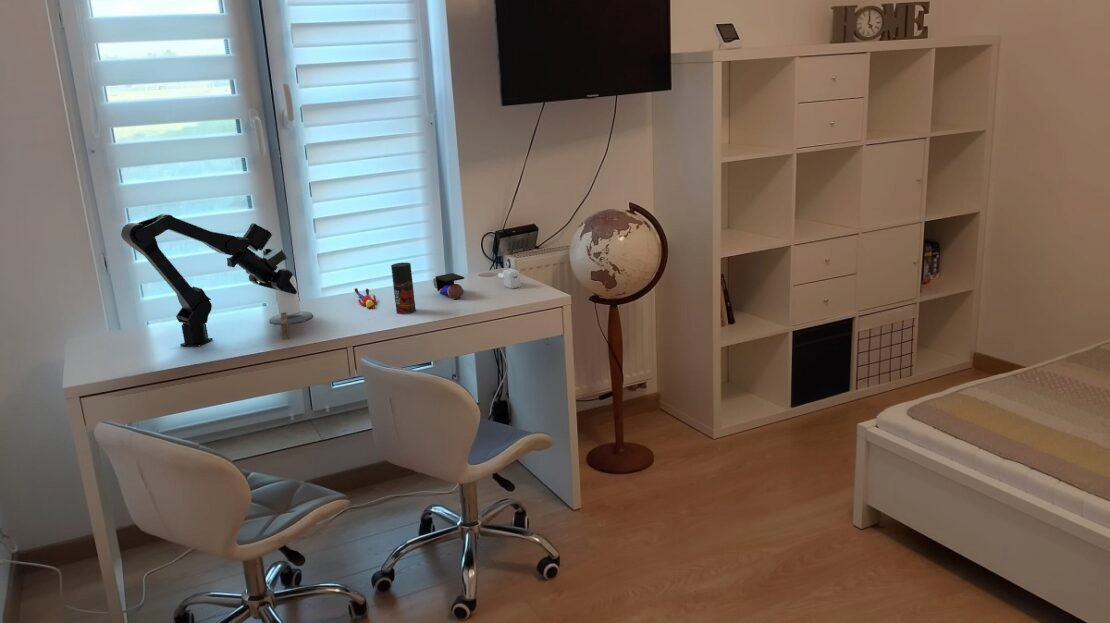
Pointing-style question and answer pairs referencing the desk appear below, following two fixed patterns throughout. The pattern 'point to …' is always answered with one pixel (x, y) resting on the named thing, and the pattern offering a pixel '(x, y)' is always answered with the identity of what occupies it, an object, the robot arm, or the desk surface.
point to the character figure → (366, 299)
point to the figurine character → (449, 285)
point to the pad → (292, 318)
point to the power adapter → (510, 278)
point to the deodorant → (403, 288)
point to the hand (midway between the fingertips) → (290, 291)
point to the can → (288, 300)
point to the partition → (284, 326)
